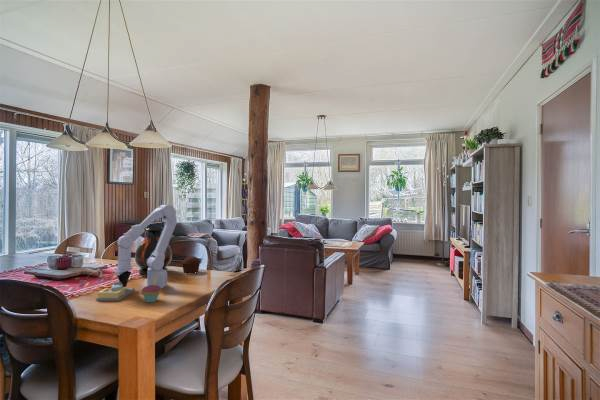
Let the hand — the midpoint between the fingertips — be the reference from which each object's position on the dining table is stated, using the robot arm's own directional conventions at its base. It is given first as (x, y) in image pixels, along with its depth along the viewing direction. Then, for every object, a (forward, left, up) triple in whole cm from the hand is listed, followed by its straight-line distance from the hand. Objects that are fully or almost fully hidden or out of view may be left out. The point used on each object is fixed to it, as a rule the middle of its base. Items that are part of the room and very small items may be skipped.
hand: (123, 286), depth 159 cm
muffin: (-23, -42, -2) cm, 48 cm away
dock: (0, +7, -2) cm, 8 cm away
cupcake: (-19, +15, -2) cm, 25 cm away
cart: (0, +6, -1) cm, 6 cm away
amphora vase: (0, -41, -2) cm, 41 cm away
